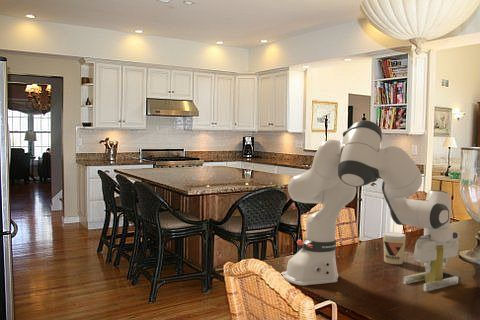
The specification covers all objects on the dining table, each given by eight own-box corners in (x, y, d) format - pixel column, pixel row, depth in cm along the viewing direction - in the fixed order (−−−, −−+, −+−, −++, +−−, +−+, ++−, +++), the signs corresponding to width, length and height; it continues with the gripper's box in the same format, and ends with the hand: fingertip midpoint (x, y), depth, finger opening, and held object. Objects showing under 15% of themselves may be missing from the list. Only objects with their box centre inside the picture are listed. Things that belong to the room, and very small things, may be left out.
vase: (427, 279, 163) (429, 242, 162) (445, 282, 159) (446, 244, 158) (422, 283, 158) (424, 245, 158) (440, 287, 154) (442, 247, 154)
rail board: (425, 291, 150) (426, 284, 149) (403, 283, 158) (403, 276, 158) (460, 283, 159) (460, 276, 159) (437, 275, 167) (438, 269, 167)
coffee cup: (380, 262, 184) (381, 235, 183) (384, 257, 192) (385, 230, 191) (403, 266, 179) (404, 237, 179) (406, 260, 188) (407, 233, 187)
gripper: (425, 238, 150) (423, 277, 151) (462, 233, 160) (460, 269, 160) (410, 234, 155) (409, 272, 156) (446, 229, 165) (445, 265, 166)
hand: (435, 270), depth 158 cm, fingers open, 6 cm apart
